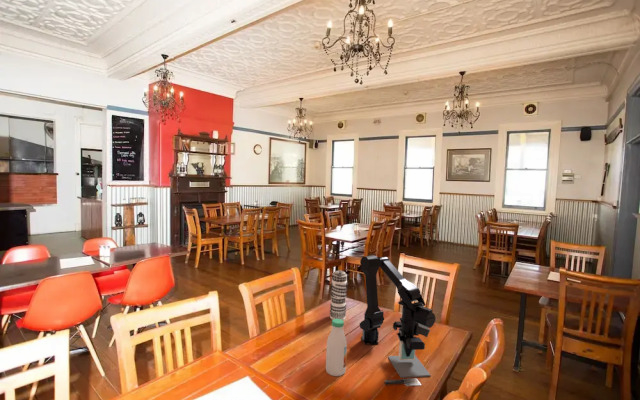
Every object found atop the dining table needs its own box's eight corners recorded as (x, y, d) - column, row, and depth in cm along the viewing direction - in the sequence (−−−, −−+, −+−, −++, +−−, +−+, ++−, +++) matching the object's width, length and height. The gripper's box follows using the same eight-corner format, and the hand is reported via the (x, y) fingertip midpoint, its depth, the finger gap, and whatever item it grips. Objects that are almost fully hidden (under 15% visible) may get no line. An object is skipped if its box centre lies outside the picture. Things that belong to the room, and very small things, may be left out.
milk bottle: (339, 379, 121) (342, 327, 120) (321, 372, 125) (324, 321, 124) (348, 369, 127) (351, 319, 126) (331, 362, 132) (334, 314, 130)
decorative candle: (349, 317, 176) (352, 271, 174) (339, 322, 169) (341, 275, 167) (336, 312, 182) (338, 268, 180) (325, 317, 174) (327, 271, 173)
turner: (387, 387, 118) (387, 384, 118) (383, 380, 122) (383, 377, 122) (421, 385, 119) (421, 383, 119) (416, 378, 123) (416, 376, 123)
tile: (400, 360, 132) (401, 343, 131) (398, 357, 134) (399, 341, 133) (414, 359, 133) (415, 343, 132) (412, 357, 135) (413, 340, 134)
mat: (400, 377, 124) (400, 376, 123) (388, 357, 137) (388, 356, 137) (430, 376, 125) (430, 374, 125) (415, 356, 139) (415, 355, 139)
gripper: (439, 328, 124) (436, 367, 125) (418, 308, 142) (415, 342, 143) (411, 328, 122) (408, 368, 123) (393, 308, 141) (391, 343, 142)
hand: (406, 354), depth 133 cm, fingers closed on tile, 2 cm apart
